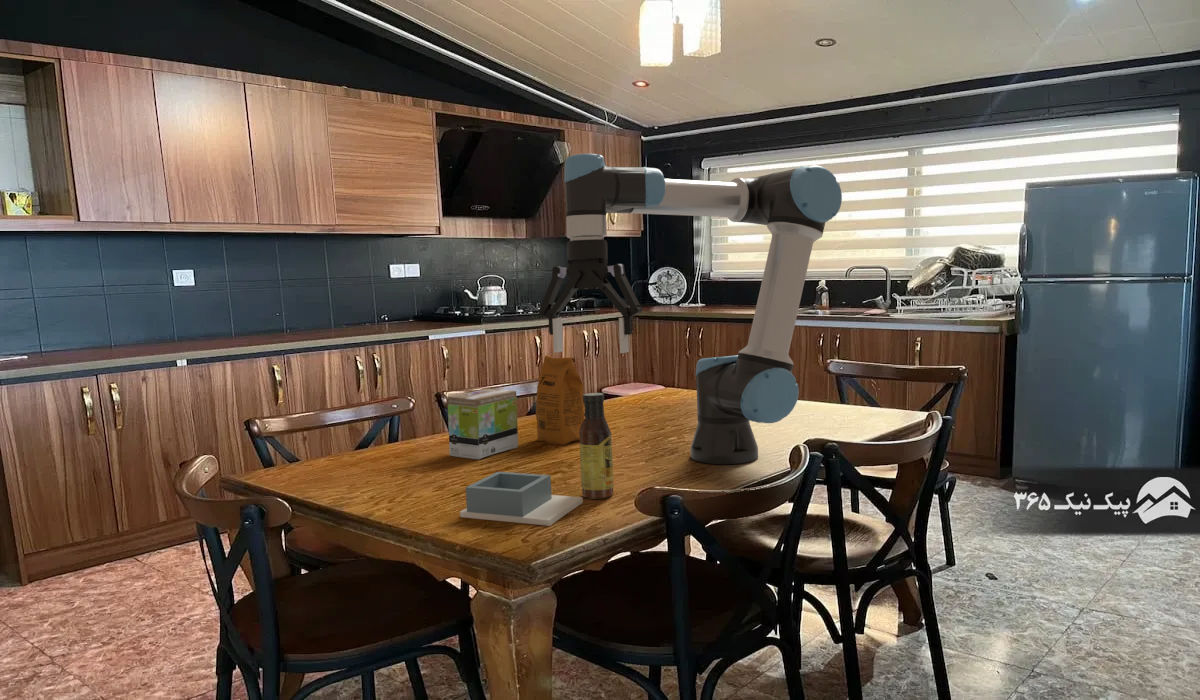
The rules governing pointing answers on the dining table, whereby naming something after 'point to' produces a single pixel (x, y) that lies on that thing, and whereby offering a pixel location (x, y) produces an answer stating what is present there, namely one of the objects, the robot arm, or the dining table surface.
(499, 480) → the bottle dock
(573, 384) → the coffee package
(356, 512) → the dining table surface
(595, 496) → the sauce bottle
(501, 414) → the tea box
